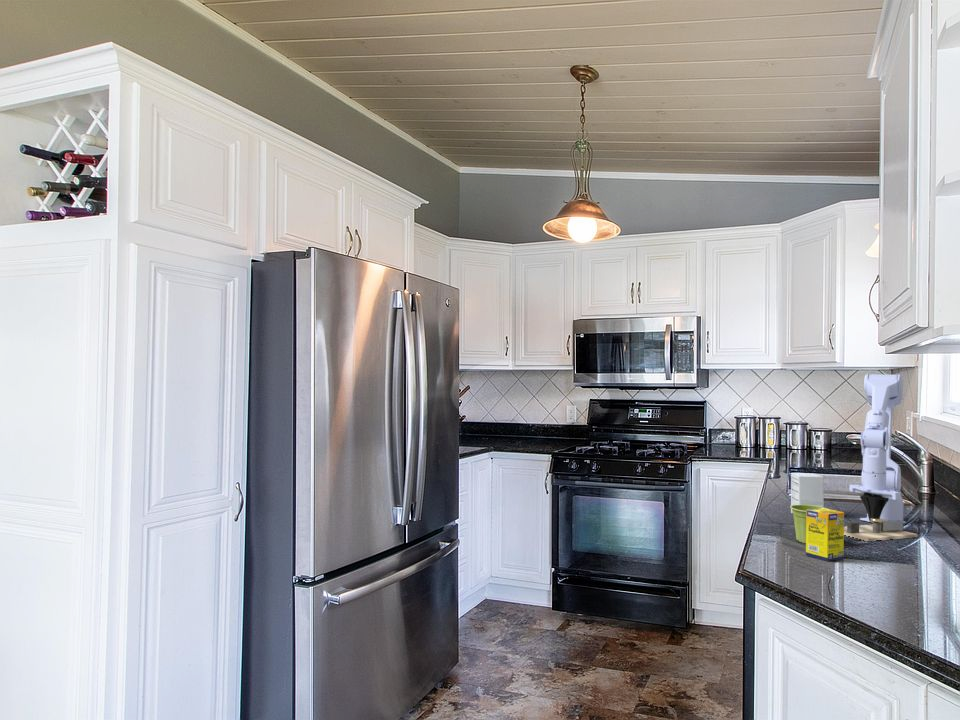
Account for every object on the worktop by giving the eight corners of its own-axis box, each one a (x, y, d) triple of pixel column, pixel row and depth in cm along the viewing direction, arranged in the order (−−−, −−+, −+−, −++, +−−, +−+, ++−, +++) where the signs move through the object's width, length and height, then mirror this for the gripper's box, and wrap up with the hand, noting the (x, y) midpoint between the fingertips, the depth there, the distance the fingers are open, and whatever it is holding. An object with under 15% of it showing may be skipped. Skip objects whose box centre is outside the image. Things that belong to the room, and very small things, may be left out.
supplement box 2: (827, 561, 160) (828, 513, 160) (805, 555, 165) (805, 509, 166) (844, 559, 163) (845, 511, 163) (821, 553, 168) (822, 507, 168)
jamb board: (874, 527, 199) (874, 514, 199) (917, 537, 187) (917, 524, 187) (826, 531, 193) (826, 518, 193) (868, 541, 181) (868, 528, 181)
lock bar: (877, 532, 187) (877, 520, 187) (868, 530, 189) (868, 518, 189) (905, 530, 190) (905, 518, 190) (895, 528, 193) (895, 516, 193)
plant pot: (835, 542, 180) (835, 508, 180) (823, 548, 173) (823, 513, 173) (797, 536, 186) (797, 503, 186) (784, 541, 179) (784, 507, 179)
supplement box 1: (814, 513, 218) (815, 473, 218) (824, 518, 210) (824, 476, 210) (790, 512, 218) (790, 472, 219) (798, 517, 211) (798, 475, 211)
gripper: (841, 469, 199) (841, 517, 199) (887, 476, 186) (887, 527, 185) (859, 468, 202) (859, 516, 201) (906, 475, 188) (906, 526, 188)
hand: (874, 521), depth 194 cm, fingers closed
